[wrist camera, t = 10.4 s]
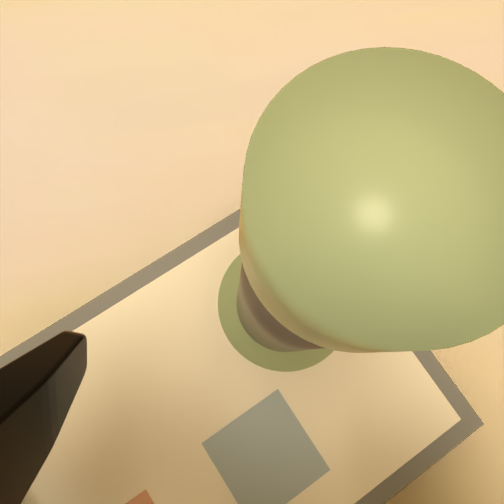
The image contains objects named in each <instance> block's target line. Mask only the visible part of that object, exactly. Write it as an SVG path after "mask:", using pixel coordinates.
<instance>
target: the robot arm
mask: <svg viewBox="0 0 504 504" xmlns="http://www.w3.org/2000/svg"><path fill="white" fill-rule="evenodd" d="M86 368H87V338H86V336H85V335H84V334H82V333H77V332H73V331H63V332H61V333H59V334H57V335H56V336H54V337H52V338H51V339H49V340H47V341H45V342H44V343H42V344H40V345H39V346H37V347H35V348H34V349H32V350H30V351H28V352H27V353H25V354H23V355H22V356H20V357H18V358H17V359H15V360H13V361H11V362H10V363H8V364H6V365H5V366H3V367H1V368H0V504H21V503H22V501H23V499H24V497H25V496H26V494H27V492H28V490H29V489H30V487H31V485H32V483H33V482H34V480H35V478H36V476H37V475H38V473H39V471H40V469H41V468H42V466H43V464H44V462H45V461H46V459H47V457H48V455H49V453H50V451H51V449H52V448H53V446H54V443H55V441H56V439H57V437H58V435H59V432H60V430H61V428H62V426H63V423H64V421H65V419H66V416H67V414H68V412H69V409H70V407H71V405H72V402H73V400H74V398H75V396H76V393H77V391H78V389H79V386H80V384H81V382H82V379H83V377H84V375H85V372H86Z"/></svg>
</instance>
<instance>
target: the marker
mask: <svg viewBox="0 0 504 504" xmlns="http://www.w3.org/2000/svg"><path fill="white" fill-rule="evenodd" d="M239 247H240V255H241V259H242V266H241V273H240V279H239V286H238V293H237V312H238V316H239V319H240V322H241V324H242V326H243V328H244V330H245V331H246V332H247V334H248V335H249V336H250V337H251V338H252V339H253V340H254V341H255V342H257V343H258V344H260V345H261V346H263V347H265V348H268V349H270V350H274V351H279V352H292V351H302V350H312V349H322V348H328V349H331V350H335V351H342V352H349V353H376V352H404V351H429V350H437V349H444V348H451V347H454V346H458V345H461V344H465V343H468V342H471V341H474V340H476V339H478V338H480V337H482V336H485V335H487V334H489V333H491V332H492V331H494V330H496V329H497V328H499V327H500V326H502V325H503V324H504V93H503V92H502V91H500V90H499V89H498V88H497V87H496V86H494V85H493V84H492V83H491V82H489V81H488V80H486V79H485V78H483V77H482V76H480V75H479V74H477V73H476V72H474V71H472V70H470V69H468V68H466V67H464V66H462V65H461V64H459V63H456V62H454V61H451V60H449V59H446V58H444V57H441V56H438V55H434V54H431V53H427V52H423V51H418V50H412V49H405V48H390V47H379V48H366V49H360V50H355V51H350V52H345V53H342V54H339V55H336V56H333V57H330V58H327V59H325V60H323V61H321V62H319V63H317V64H315V65H313V66H311V67H309V68H308V69H306V70H305V71H303V72H302V73H300V74H299V75H297V76H296V77H295V78H293V79H292V80H291V81H290V82H289V83H288V84H286V85H285V86H284V87H283V88H282V89H281V90H280V91H279V92H278V94H277V95H276V96H275V97H274V98H273V99H272V100H271V102H270V103H269V104H268V106H267V107H266V109H265V111H264V112H263V114H262V115H261V117H260V118H259V120H258V123H257V125H256V127H255V129H254V131H253V133H252V136H251V139H250V143H249V146H248V149H247V153H246V158H245V165H244V172H243V183H242V195H241V208H240V220H239Z"/></svg>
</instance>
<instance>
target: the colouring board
mask: <svg viewBox="0 0 504 504" xmlns="http://www.w3.org/2000/svg"><path fill="white" fill-rule="evenodd" d="M239 220H240V209H239V210H238V211H236V212H234V213H233V214H231V215H229V216H228V217H226V218H225V219H223V220H221V221H220V222H218V223H216V224H215V225H213V226H212V227H210V228H208V229H207V230H205V231H203V232H202V233H200V234H199V235H197V236H195V237H194V238H192V239H190V240H189V241H187V242H186V243H184V244H182V245H181V246H179V247H177V248H176V249H174V250H173V251H171V252H169V253H168V254H166V255H164V256H163V257H161V258H160V259H158V260H156V261H155V262H153V263H151V264H150V265H148V266H147V267H145V268H143V269H142V270H140V271H138V272H137V273H135V274H134V275H132V276H130V277H129V278H127V279H125V280H124V281H122V282H121V283H119V284H117V285H116V286H114V287H112V288H111V289H109V290H108V291H106V292H104V293H103V294H101V295H99V296H98V297H96V298H95V299H93V300H91V301H90V302H88V303H86V304H85V305H83V306H82V307H80V308H78V309H77V310H75V311H73V312H72V313H70V314H69V315H67V316H65V317H64V318H62V319H60V320H59V321H57V322H56V323H54V324H52V325H51V326H49V327H47V328H46V329H44V330H43V331H41V332H39V333H38V334H36V335H34V336H33V337H31V338H30V339H28V340H26V341H25V342H23V343H21V344H20V345H18V346H17V347H15V348H13V349H12V350H10V351H8V352H7V353H5V354H4V355H2V356H0V368H1V367H3V366H5V365H6V364H8V363H10V362H11V361H13V360H15V359H17V358H18V357H20V356H22V355H23V354H25V353H27V352H28V351H30V350H32V349H34V348H35V347H37V346H39V345H40V344H42V343H44V342H45V341H47V340H49V339H51V338H52V337H54V336H56V335H57V334H59V333H61V332H63V331H73V332H77V333H82V334H84V335H85V336H86V338H87V368H86V372H85V375H84V377H83V379H82V382H81V384H80V386H79V389H78V391H77V393H76V396H75V398H74V400H73V402H72V405H71V407H70V409H69V412H68V414H67V416H66V419H65V421H64V423H63V426H62V428H61V430H60V432H59V435H58V437H57V439H56V441H55V443H54V446H53V448H52V449H51V451H50V453H49V455H48V457H47V459H46V461H45V462H44V464H43V466H42V468H41V469H40V471H39V473H38V475H37V476H36V478H35V480H34V482H33V483H32V485H31V487H30V489H29V490H28V492H27V494H26V496H25V497H24V499H23V501H22V503H21V504H384V503H386V502H387V501H388V500H389V499H391V498H392V497H393V496H394V495H396V494H397V493H398V492H399V491H401V490H402V489H403V488H404V487H406V486H407V485H408V484H409V483H411V482H412V481H413V480H414V479H416V478H417V477H418V476H419V475H421V474H422V473H423V472H424V471H426V470H427V469H428V468H429V467H431V466H432V465H433V464H434V463H436V462H437V461H438V460H439V459H441V458H442V457H443V456H444V455H446V454H447V453H448V452H449V451H451V450H452V449H453V448H454V447H456V446H457V445H458V444H459V443H461V442H462V441H463V440H464V439H466V438H467V437H468V436H469V435H471V434H472V433H473V432H474V431H476V430H477V429H478V428H479V427H481V426H482V425H483V424H484V423H483V422H482V421H481V419H480V418H479V417H478V415H477V414H476V412H475V411H474V410H473V408H472V407H471V406H470V404H469V403H468V401H467V400H466V399H465V397H464V396H463V395H462V393H461V392H460V390H459V389H458V388H457V386H456V385H455V384H454V382H453V381H452V379H451V378H450V377H449V375H448V374H447V373H446V371H445V370H444V368H443V367H442V366H441V364H440V363H439V362H438V360H437V359H436V357H435V356H434V355H433V353H432V352H431V351H430V350H429V351H404V352H376V353H349V352H342V351H335V350H331V349H328V348H322V349H312V350H302V351H292V352H279V351H274V350H270V349H268V348H265V347H263V346H261V345H260V344H258V343H257V342H255V341H254V340H253V339H252V338H251V337H250V336H249V335H248V334H247V332H246V331H245V330H244V328H243V326H242V324H241V322H240V319H239V316H238V312H237V293H238V286H239V279H240V273H241V266H242V259H241V255H240V247H239Z"/></svg>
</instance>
